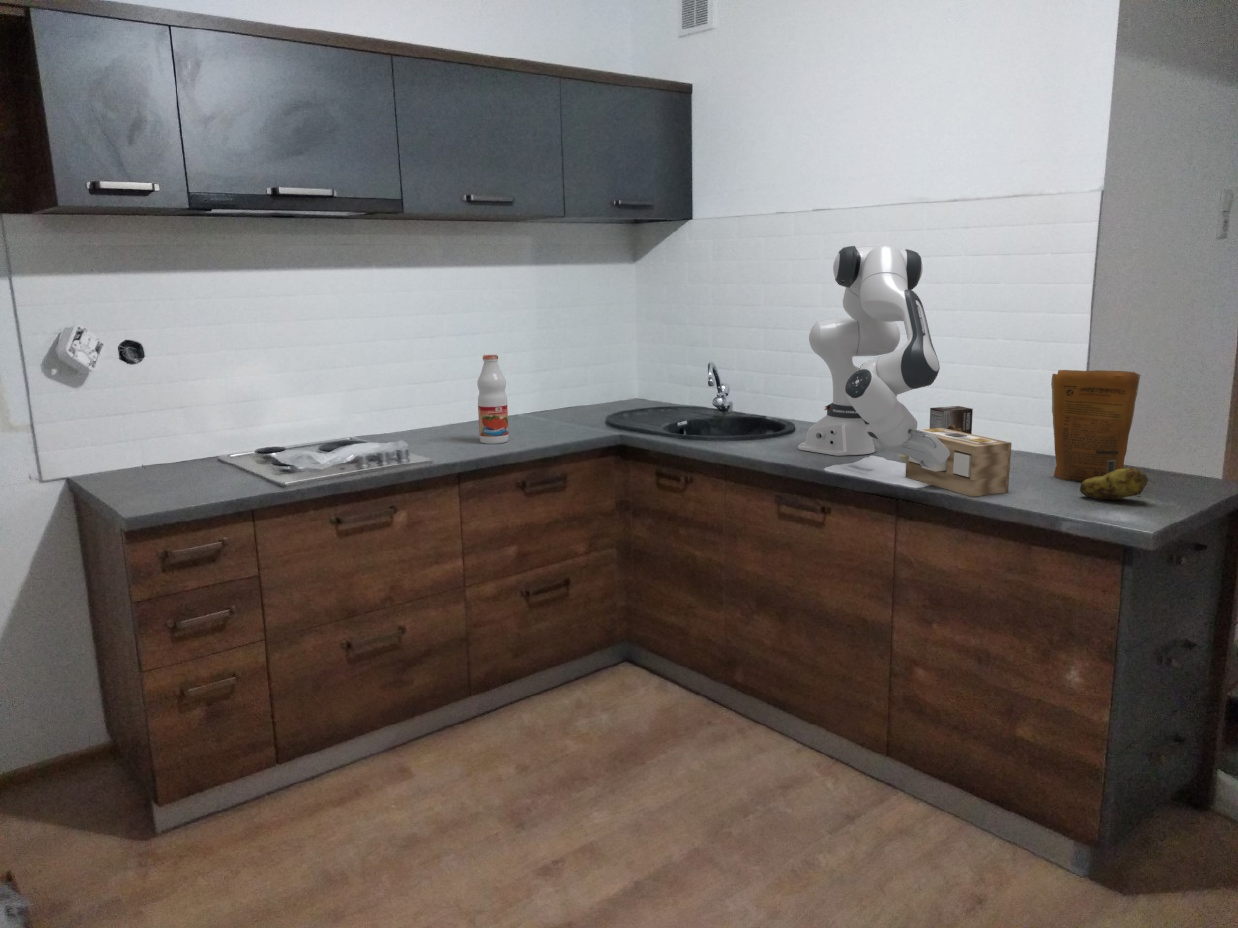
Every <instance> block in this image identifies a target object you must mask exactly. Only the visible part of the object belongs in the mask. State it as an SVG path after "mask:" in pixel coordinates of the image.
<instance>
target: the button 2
mask: <svg viewBox="0 0 1238 928" xmlns="http://www.w3.org/2000/svg"><path fill="white" fill-rule="evenodd" d="M971 458H972V454H968V453H964V452H954V464H953V473H955V474H959V475H962V476H966V477H970V474H971Z"/></svg>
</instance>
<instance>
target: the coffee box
mask: <svg viewBox="0 0 1238 928" xmlns="http://www.w3.org/2000/svg"><path fill="white" fill-rule="evenodd" d="M973 410H974V408H971V407H965V406H961V405H956V406H955V405H953V406H941V407H940V406H939V407H930V409H929V428H928V429H933V428H945V429H950V430H954V431H959V432H964V433H968V434H973V432H972V431H973V412H974V411H973Z"/></svg>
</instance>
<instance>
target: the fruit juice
mask: <svg viewBox="0 0 1238 928" xmlns="http://www.w3.org/2000/svg"><path fill="white" fill-rule="evenodd" d="M482 361H483V365H482V368H481V371H480V375H479V376H478V379H477V389H478V392H479V394H478V396H477V411H478V413H477V414H478V431H479V442H480V443H482V444H486V445H487V444H488V445H492V444H493V445H496V444H498V445H499V444H503V443H507V442H508V441H509V439H510V437H509V415H508V414H509V412H508V409H509V408H508V398H507V394H506V386H507V380H506V378H505V377H504V375H503V373H502V370H501V368H500V366H499V363H498V362H499V356H498V354H486V355H485V354H484V355H482Z"/></svg>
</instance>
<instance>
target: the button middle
mask: <svg viewBox="0 0 1238 928" xmlns="http://www.w3.org/2000/svg"><path fill="white" fill-rule="evenodd" d="M947 449H948V448H947ZM922 468H924V469H928V470H932V471H935V472H936V471H945V470H947V460H946V461H945V462H944V463H943V464H942V465H938V464H935V463H934V465H933V467H932V468H928V467H924V466H922Z"/></svg>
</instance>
